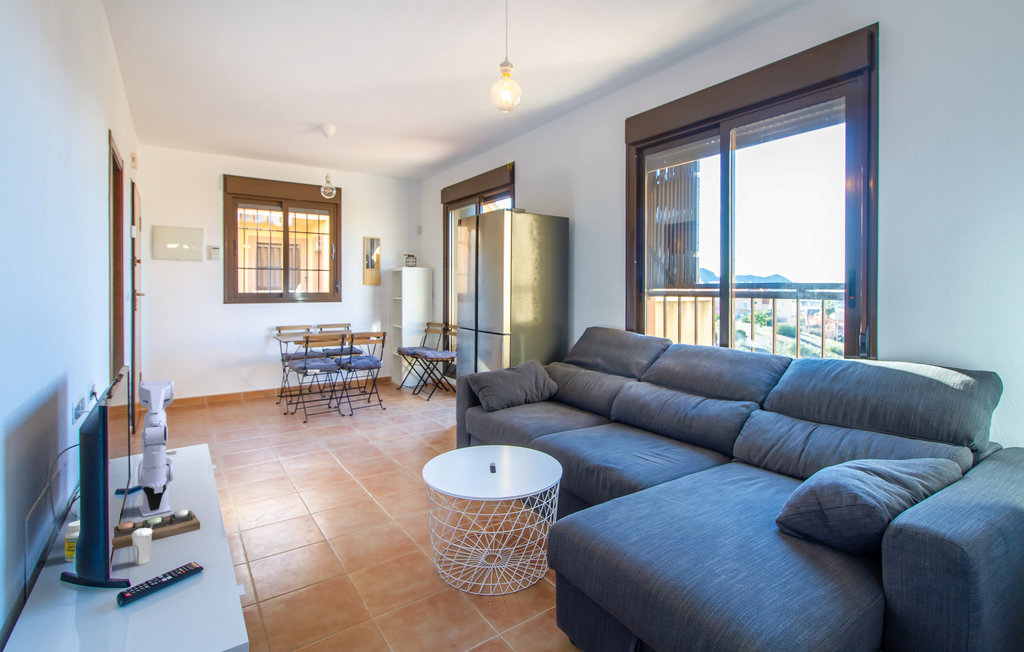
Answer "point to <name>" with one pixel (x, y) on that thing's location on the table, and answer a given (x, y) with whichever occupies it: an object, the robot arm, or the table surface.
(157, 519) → the sage button
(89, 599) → the table surface
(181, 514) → the grey button
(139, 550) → the milkshake
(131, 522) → the terracotta button
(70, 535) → the supplement bottle
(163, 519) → the button board
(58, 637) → the table surface
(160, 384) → the robot arm
